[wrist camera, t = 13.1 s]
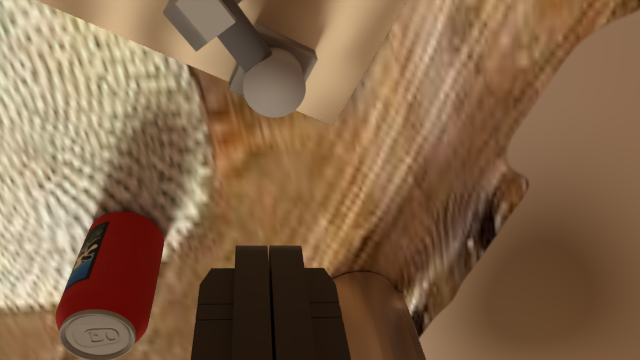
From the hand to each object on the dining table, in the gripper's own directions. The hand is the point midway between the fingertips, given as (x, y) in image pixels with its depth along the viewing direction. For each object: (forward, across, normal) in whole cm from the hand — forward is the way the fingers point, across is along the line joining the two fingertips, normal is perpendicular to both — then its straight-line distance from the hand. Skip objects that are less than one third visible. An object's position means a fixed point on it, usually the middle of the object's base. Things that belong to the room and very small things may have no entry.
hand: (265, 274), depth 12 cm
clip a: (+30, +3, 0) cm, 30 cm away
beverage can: (+31, +11, +22) cm, 40 cm away
